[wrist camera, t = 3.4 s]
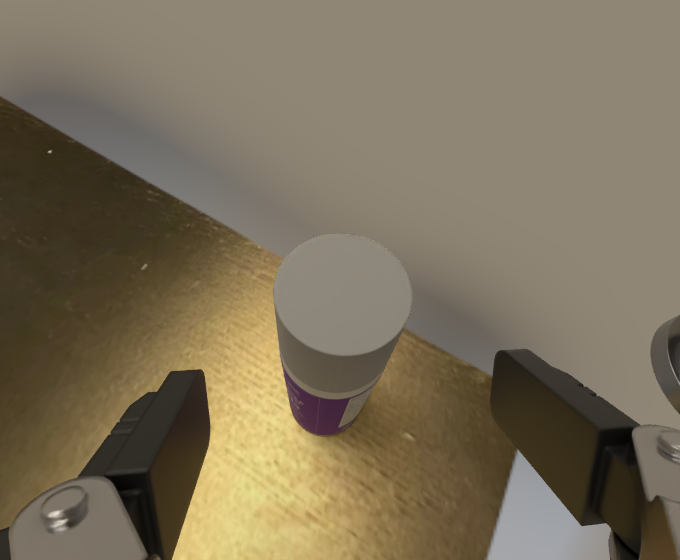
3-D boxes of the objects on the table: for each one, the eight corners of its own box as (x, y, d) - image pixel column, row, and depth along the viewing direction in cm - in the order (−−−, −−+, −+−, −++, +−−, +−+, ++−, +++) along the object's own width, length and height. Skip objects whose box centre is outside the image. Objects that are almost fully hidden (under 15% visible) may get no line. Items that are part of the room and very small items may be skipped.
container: (274, 403, 24) (236, 295, 12) (321, 350, 26) (333, 208, 14) (330, 453, 23) (357, 394, 10) (374, 393, 25) (443, 282, 12)
